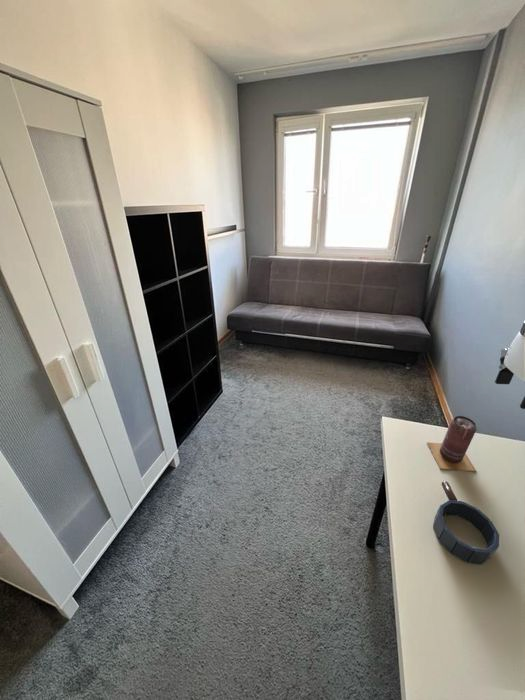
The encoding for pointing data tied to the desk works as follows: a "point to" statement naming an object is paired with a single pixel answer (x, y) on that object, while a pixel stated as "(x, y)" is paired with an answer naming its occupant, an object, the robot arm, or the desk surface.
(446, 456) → the can
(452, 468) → the coaster
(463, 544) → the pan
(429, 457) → the desk surface
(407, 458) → the desk surface
